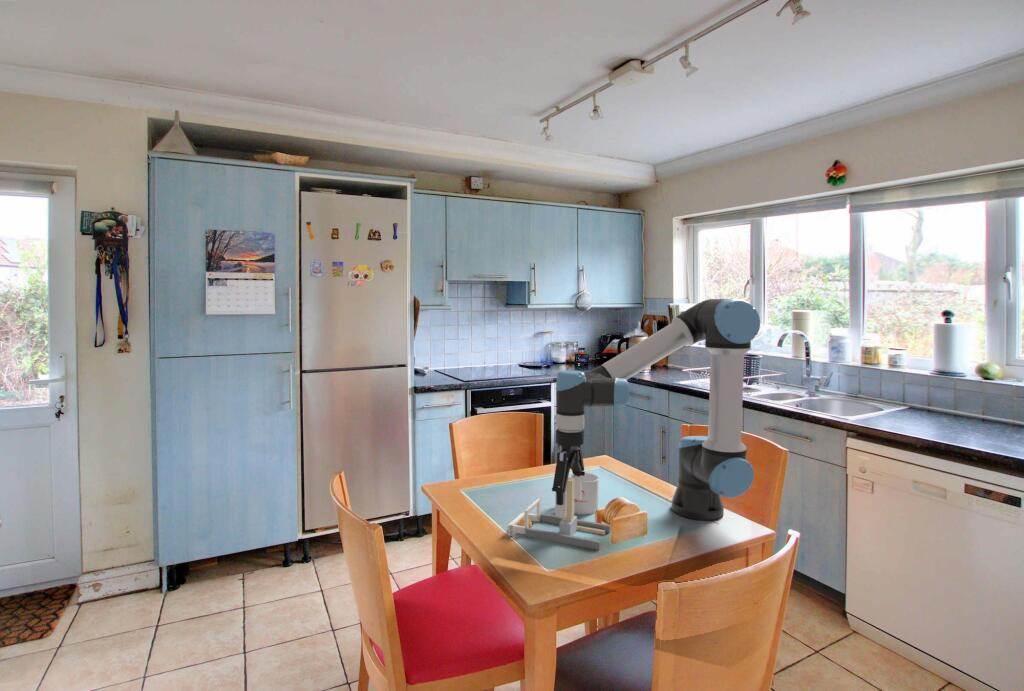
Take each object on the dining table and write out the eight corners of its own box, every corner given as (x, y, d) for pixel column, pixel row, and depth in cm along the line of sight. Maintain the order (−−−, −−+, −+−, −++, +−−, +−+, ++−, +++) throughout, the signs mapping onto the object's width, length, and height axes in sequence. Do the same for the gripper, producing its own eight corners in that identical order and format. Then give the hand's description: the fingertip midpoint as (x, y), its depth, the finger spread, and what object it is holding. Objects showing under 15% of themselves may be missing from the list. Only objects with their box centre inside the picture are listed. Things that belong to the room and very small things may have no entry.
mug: (599, 509, 168) (600, 473, 167) (596, 520, 160) (596, 483, 159) (561, 505, 171) (561, 470, 171) (556, 515, 163) (556, 479, 162)
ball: (531, 530, 153) (535, 518, 153) (526, 535, 150) (530, 523, 149) (520, 524, 155) (523, 513, 154) (515, 529, 151) (518, 518, 151)
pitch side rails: (610, 536, 148) (610, 524, 148) (599, 554, 138) (599, 542, 137) (541, 524, 156) (541, 513, 156) (525, 540, 146) (525, 529, 145)
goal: (540, 525, 156) (540, 498, 155) (527, 539, 146) (527, 510, 146) (522, 522, 158) (522, 495, 157) (508, 535, 149) (508, 507, 148)
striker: (576, 530, 149) (577, 476, 148) (570, 539, 144) (571, 483, 142) (566, 528, 150) (567, 475, 149) (559, 537, 145) (560, 482, 144)
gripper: (570, 418, 158) (569, 490, 159) (539, 438, 135) (539, 521, 136) (595, 421, 155) (594, 494, 156) (569, 441, 132) (567, 526, 133)
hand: (568, 507), depth 146 cm, fingers open, 13 cm apart
